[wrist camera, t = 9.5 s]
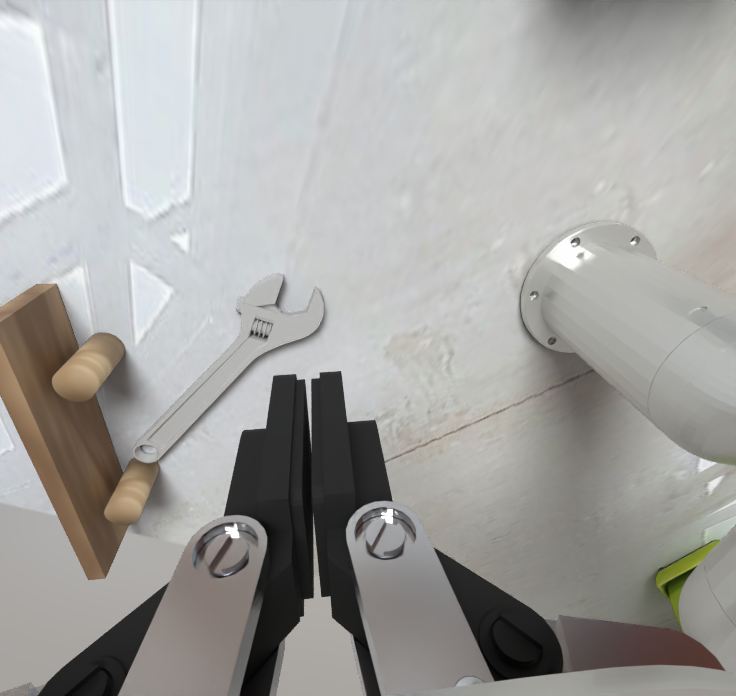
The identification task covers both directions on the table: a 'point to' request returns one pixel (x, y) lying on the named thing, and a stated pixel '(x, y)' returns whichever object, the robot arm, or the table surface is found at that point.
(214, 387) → the adjustable wrench
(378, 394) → the table surface
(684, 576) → the flower pot
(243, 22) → the table surface
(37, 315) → the tool rack
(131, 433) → the table surface
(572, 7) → the table surface
